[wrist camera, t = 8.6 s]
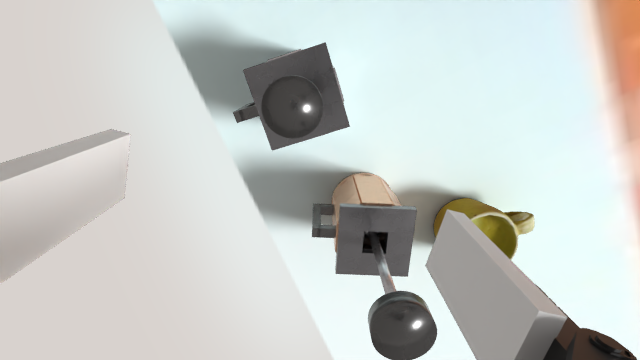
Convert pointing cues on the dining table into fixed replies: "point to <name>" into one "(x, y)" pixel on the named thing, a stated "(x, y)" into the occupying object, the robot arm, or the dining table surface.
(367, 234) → the plunger copper
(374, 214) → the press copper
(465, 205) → the mug
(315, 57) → the plate
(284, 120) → the plunger steel
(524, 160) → the dining table surface
